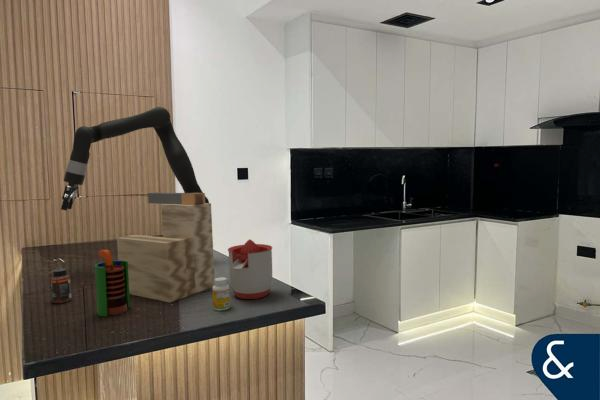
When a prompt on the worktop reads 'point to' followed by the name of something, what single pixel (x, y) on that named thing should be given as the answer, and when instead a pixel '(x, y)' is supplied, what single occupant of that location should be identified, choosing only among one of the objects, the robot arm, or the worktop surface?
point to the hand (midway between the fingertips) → (66, 209)
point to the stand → (172, 255)
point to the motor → (111, 285)
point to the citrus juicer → (250, 269)
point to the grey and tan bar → (176, 198)
